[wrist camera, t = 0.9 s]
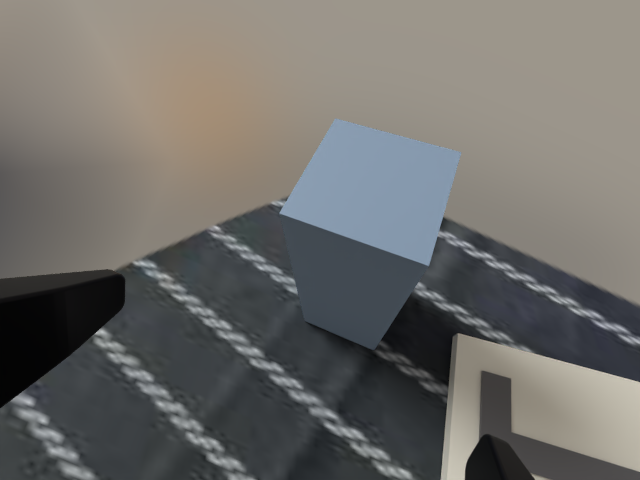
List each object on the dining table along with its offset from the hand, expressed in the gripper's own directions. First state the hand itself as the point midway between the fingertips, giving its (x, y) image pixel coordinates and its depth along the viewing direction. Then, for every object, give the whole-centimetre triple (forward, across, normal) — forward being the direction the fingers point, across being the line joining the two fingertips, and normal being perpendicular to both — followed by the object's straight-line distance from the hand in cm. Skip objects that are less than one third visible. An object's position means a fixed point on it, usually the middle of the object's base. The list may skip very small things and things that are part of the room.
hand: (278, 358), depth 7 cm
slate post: (+14, 0, +6) cm, 15 cm away
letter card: (+11, -13, +9) cm, 19 cm away
